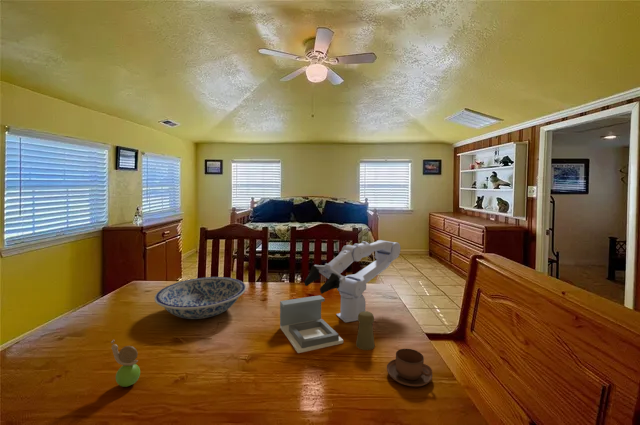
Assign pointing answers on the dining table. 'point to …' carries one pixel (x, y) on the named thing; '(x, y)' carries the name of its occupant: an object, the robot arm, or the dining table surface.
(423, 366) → the cup and saucer
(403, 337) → the dining table surface
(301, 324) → the socket block
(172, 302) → the ceramic bowl
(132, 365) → the snail figurine
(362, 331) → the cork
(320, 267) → the robot arm
